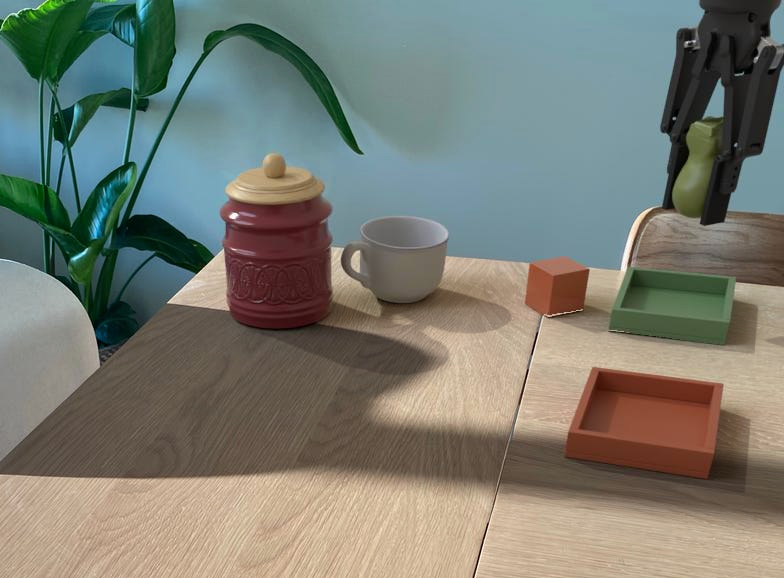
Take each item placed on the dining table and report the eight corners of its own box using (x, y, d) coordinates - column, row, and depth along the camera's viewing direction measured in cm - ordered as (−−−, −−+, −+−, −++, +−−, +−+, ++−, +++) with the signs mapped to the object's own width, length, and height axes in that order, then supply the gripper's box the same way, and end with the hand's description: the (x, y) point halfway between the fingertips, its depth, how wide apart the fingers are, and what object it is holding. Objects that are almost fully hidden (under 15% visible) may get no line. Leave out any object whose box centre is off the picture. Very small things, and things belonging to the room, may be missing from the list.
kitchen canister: (354, 314, 117) (355, 155, 106) (261, 340, 112) (252, 176, 101) (297, 283, 126) (292, 133, 115) (208, 305, 121) (194, 151, 110)
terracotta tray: (707, 479, 86) (714, 453, 85) (563, 457, 90) (568, 431, 88) (717, 407, 97) (723, 383, 95) (588, 390, 100) (592, 366, 99)
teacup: (423, 274, 127) (427, 210, 122) (459, 303, 119) (464, 236, 114) (323, 289, 124) (322, 224, 119) (353, 320, 116) (353, 252, 111)
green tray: (724, 345, 108) (730, 322, 106) (608, 331, 112) (612, 309, 110) (730, 298, 118) (736, 276, 117) (624, 287, 122) (628, 266, 120)
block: (583, 311, 116) (589, 268, 113) (547, 318, 115) (553, 275, 112) (559, 297, 120) (565, 255, 117) (524, 303, 119) (529, 262, 115)
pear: (729, 220, 107) (754, 119, 100) (688, 227, 105) (711, 125, 99) (697, 206, 111) (719, 108, 104) (657, 213, 109) (677, 114, 103)
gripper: (653, -45, 98) (612, 197, 113) (790, -27, 85) (723, 245, 100) (713, -50, 101) (665, 189, 115) (855, -33, 87) (780, 234, 102)
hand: (692, 214), depth 108 cm, fingers closed on pear, 6 cm apart
